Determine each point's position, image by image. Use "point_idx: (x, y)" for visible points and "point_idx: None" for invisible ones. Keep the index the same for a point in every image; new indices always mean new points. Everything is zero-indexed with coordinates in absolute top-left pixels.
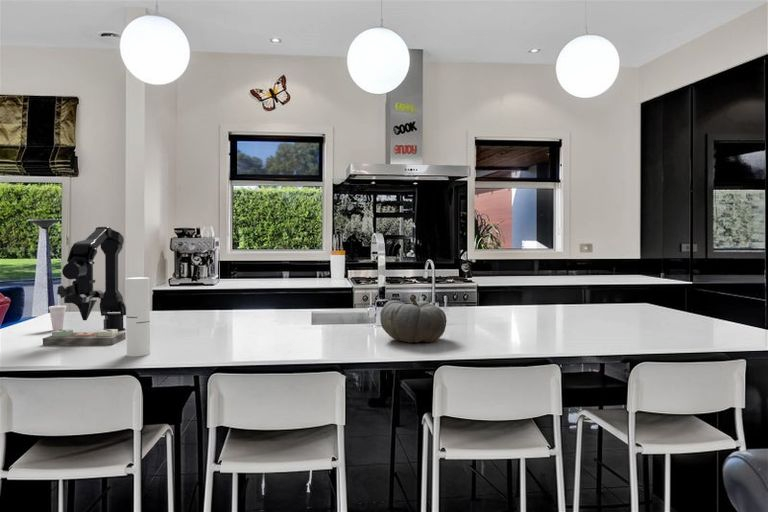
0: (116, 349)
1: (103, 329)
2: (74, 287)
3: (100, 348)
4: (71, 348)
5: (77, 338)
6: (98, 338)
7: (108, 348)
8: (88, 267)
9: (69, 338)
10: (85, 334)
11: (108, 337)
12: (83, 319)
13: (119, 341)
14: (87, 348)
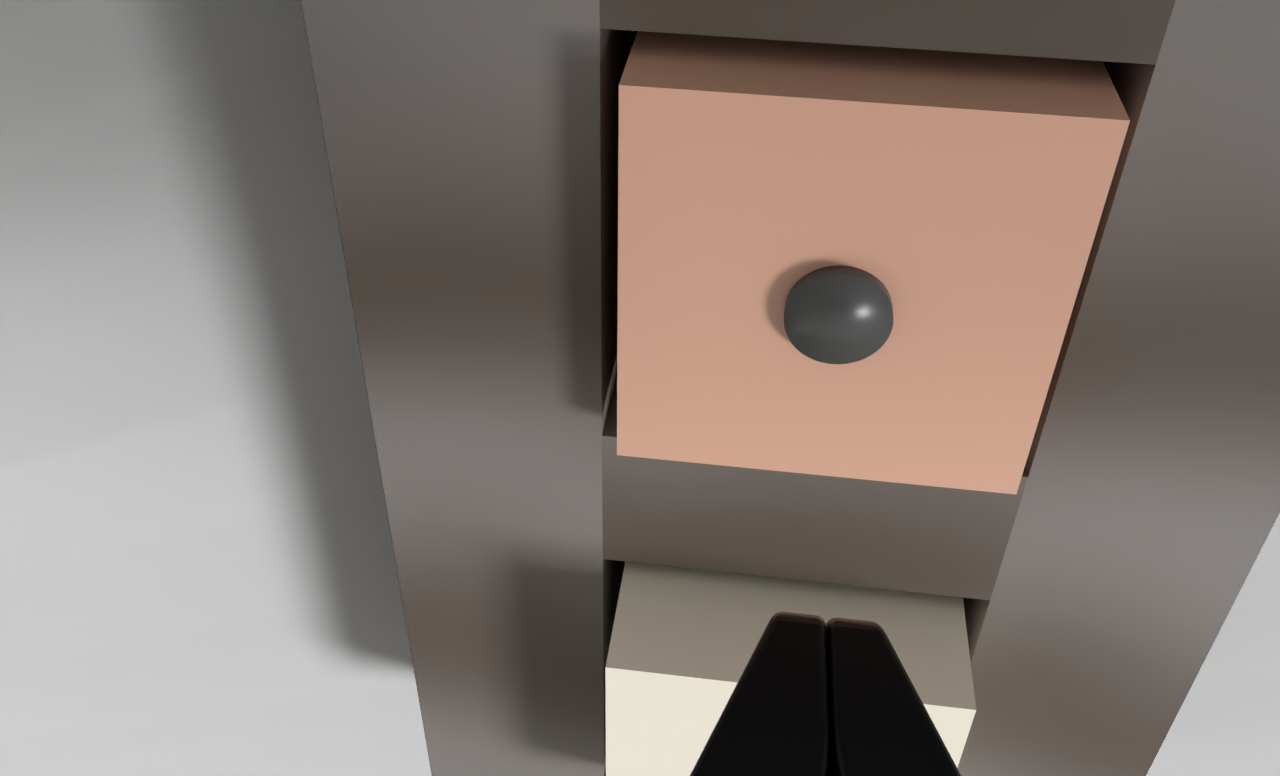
0: (135, 759)
1: (949, 709)
2: None
3: (154, 593)
4: (21, 141)
5: (346, 223)
6: (406, 612)
7: (179, 678)
8: None
9: (306, 2)
10: (625, 368)
11: (473, 741)
12: (765, 654)
13: None
14: (104, 425)
